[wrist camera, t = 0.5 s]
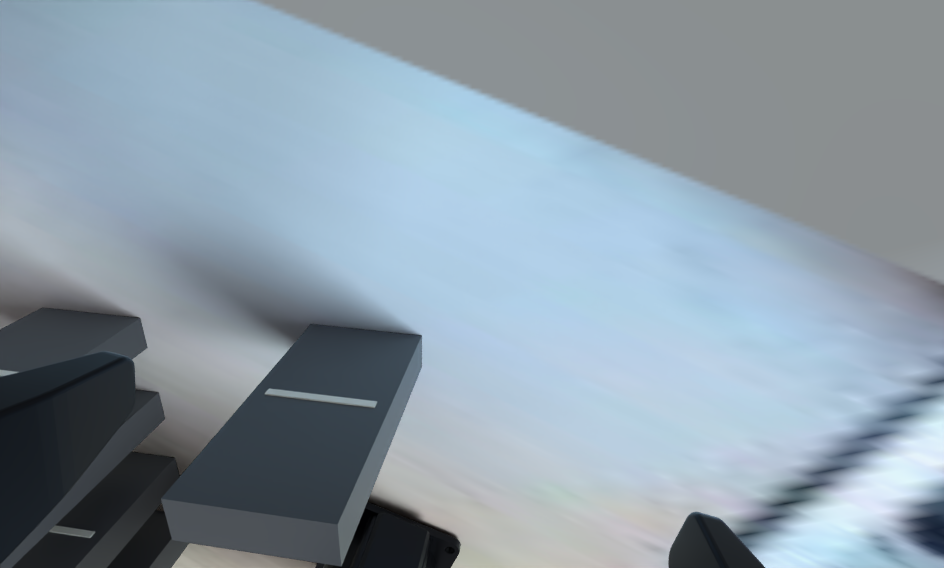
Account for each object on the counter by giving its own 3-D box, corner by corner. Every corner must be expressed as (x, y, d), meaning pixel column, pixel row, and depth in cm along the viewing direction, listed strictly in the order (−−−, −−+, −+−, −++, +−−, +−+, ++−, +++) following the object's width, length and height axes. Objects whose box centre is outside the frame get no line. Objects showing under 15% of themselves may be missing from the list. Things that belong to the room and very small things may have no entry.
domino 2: (180, 481, 29) (12, 680, 20) (96, 469, 29) (-105, 658, 20) (174, 456, 28) (-4, 652, 19) (88, 445, 29) (-125, 629, 20)
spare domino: (421, 368, 24) (341, 567, 15) (313, 356, 24) (172, 541, 15) (421, 334, 23) (337, 522, 14) (311, 322, 24) (160, 496, 14)
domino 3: (165, 419, 27) (-28, 607, 18) (75, 408, 28) (-155, 584, 19) (158, 391, 26) (-46, 572, 17) (66, 380, 27) (-178, 550, 18)
